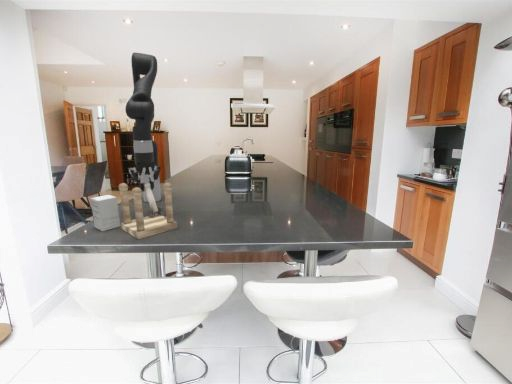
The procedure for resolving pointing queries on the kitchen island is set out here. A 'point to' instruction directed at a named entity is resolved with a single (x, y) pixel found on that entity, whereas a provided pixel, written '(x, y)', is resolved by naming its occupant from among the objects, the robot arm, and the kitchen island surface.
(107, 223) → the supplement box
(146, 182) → the folding leg
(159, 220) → the wooden post rack
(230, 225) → the kitchen island surface
